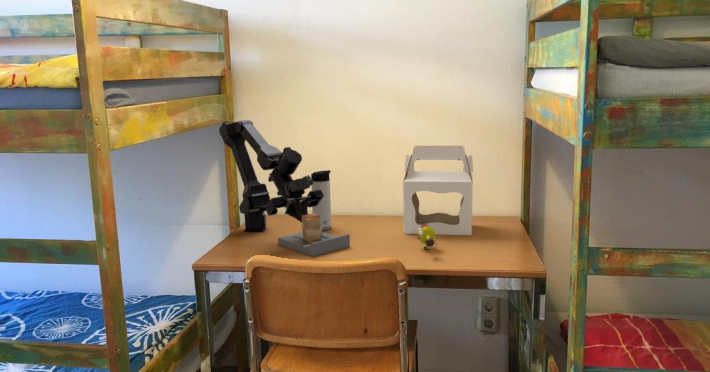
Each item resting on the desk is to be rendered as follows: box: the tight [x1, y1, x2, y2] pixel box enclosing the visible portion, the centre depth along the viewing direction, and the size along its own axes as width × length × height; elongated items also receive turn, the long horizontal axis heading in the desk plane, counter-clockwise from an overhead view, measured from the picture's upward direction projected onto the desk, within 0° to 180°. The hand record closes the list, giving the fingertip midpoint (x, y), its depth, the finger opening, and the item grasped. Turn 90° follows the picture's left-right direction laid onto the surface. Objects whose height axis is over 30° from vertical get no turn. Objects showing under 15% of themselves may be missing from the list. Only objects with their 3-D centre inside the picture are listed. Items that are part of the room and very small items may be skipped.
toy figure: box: [416, 224, 437, 251], centre depth 176 cm, size 18×6×7 cm, turn 178°
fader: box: [301, 213, 322, 244], centre depth 178 cm, size 5×4×8 cm
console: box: [277, 227, 351, 257], centre depth 182 cm, size 18×14×4 cm
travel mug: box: [310, 169, 332, 232], centre depth 200 cm, size 6×7×20 cm
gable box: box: [402, 145, 474, 236], centre depth 195 cm, size 22×13×28 cm, turn 79°
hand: (307, 224), depth 179 cm, fingers closed, pressing on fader
